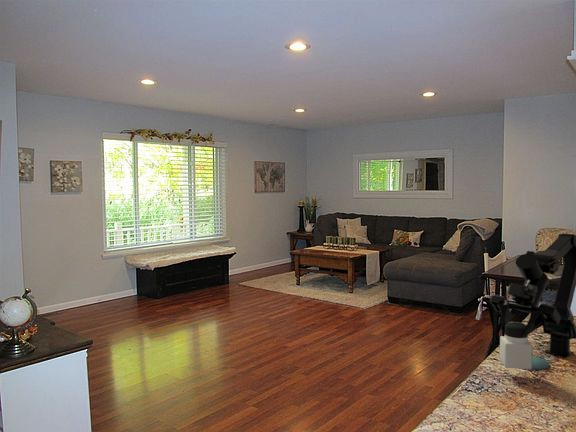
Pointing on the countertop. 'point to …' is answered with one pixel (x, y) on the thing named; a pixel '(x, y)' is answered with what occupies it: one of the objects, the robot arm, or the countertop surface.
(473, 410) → the countertop surface
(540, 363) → the coaster
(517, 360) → the medicine bottle
